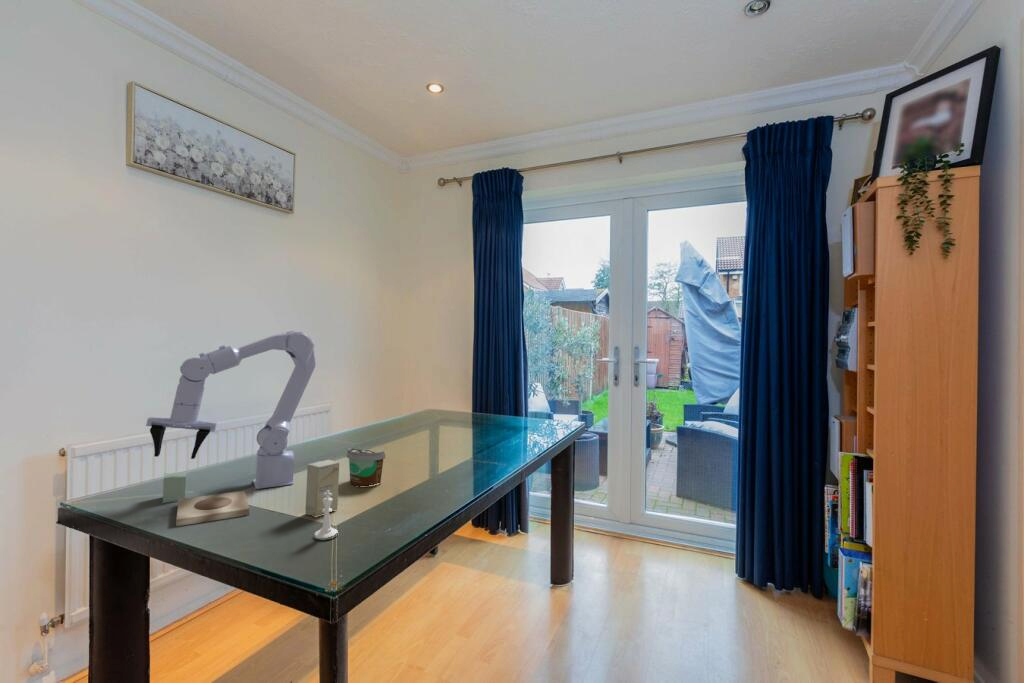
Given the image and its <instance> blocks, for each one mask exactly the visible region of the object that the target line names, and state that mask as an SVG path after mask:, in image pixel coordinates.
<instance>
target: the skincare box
mask: <svg viewBox="0 0 1024 683" xmlns="http://www.w3.org/2000/svg"><path fill="white" fill-rule="evenodd" d="M306 473H307V474H306V488H305V489H306V492H305V494H306V495H305V514H306V515H308V516H310V515H312V516H311V517H313V516H318V515H322V514H325V513H323V512H322V510H323V509H324V508H325V507H324V503H323V499H324V498H326V495H324V493H327V490H330V493H332V496H329V498H332V499H333V500H332V503H331V506H330V508H332V511H334V510H337V511H338V504H339V503H338V501H339V500H338V499H339V477H340V462H339V461H336V460H332V459H325V460H319V461H316V462H312V463H307V471H306Z"/></svg>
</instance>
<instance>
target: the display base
mask: <svg viewBox="0 0 1024 683" xmlns="http://www.w3.org/2000/svg"><path fill="white" fill-rule="evenodd" d="M244 515H245V516H249V515H250V506H249V502H248V498H247V494H246V492H245V490H237V491H231V492H224V493H223V492H222V493H216V494H209V495H202V496H201V495H200V496H194V497H192V496H191V497H185V499H179V500H178V501H177V512H176V522H175V524H176V526H175V527H181V526H186V525H193V524H200V523H206V522H207V523H208V522H213V521H218V520H220V521H221V520H224V519H232V518H237V517H244Z"/></svg>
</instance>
